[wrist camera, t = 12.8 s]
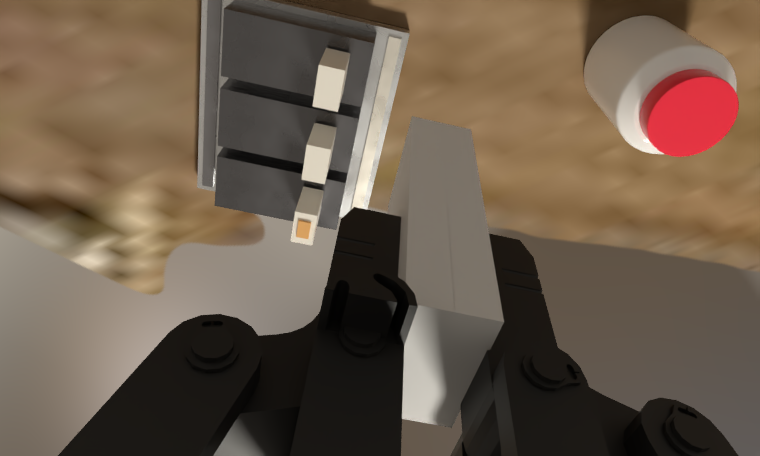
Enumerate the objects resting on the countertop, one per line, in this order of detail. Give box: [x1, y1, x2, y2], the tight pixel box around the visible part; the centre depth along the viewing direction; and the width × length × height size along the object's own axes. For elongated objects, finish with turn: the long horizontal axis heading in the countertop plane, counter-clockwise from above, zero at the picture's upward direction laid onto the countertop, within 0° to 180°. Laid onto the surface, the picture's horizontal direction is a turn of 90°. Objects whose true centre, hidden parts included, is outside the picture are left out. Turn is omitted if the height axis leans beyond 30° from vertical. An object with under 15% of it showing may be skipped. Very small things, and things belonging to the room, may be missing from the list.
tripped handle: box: [291, 186, 324, 245], centre depth 45 cm, size 3×2×4 cm, turn 168°
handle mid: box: [301, 123, 337, 184], centre depth 42 cm, size 3×2×4 cm, turn 168°
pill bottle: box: [584, 15, 739, 157], centre depth 39 cm, size 8×8×11 cm
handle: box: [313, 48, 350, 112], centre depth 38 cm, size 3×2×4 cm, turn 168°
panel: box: [197, 0, 409, 230], centre depth 45 cm, size 18×16×4 cm
